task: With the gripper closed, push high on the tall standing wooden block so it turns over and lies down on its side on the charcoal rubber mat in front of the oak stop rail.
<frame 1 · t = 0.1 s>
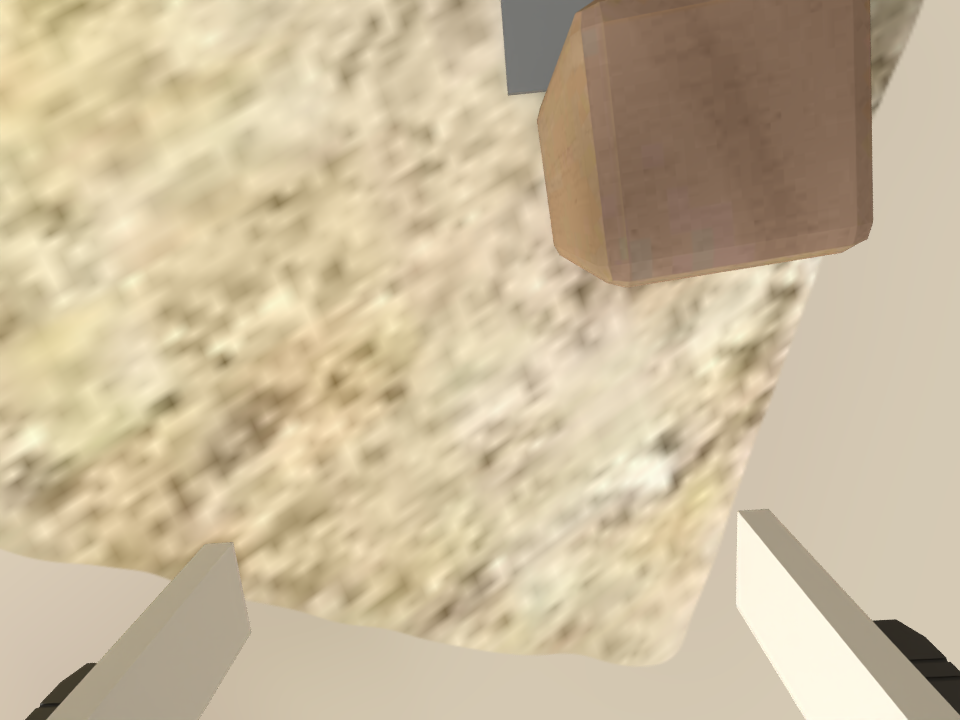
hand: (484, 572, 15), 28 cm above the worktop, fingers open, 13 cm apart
wooden block: (617, 172, 40), on the worktop
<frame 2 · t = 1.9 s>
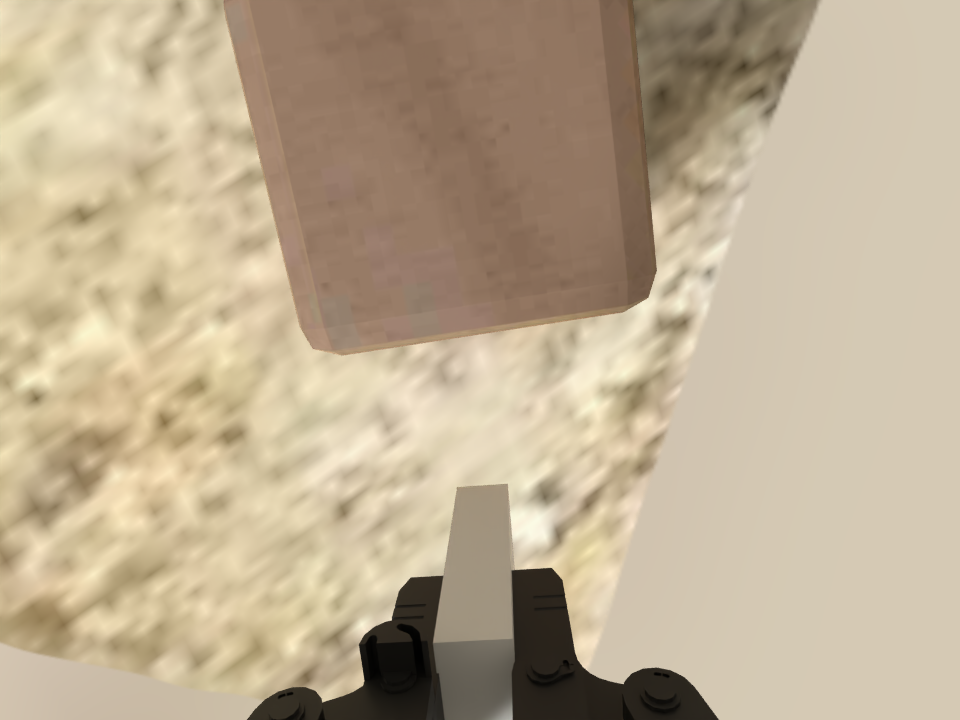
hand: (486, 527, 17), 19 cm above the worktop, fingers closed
wooden block: (476, 183, 34), on the worktop
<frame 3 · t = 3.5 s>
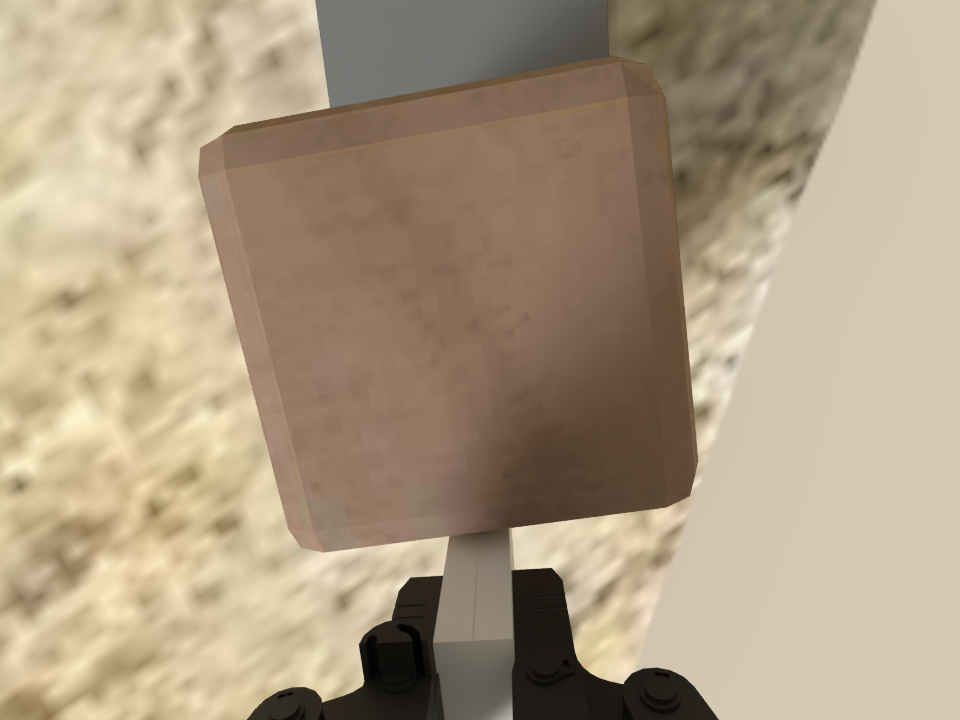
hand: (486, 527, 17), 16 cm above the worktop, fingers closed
wooden block: (483, 268, 32), on the worktop, touching gripper
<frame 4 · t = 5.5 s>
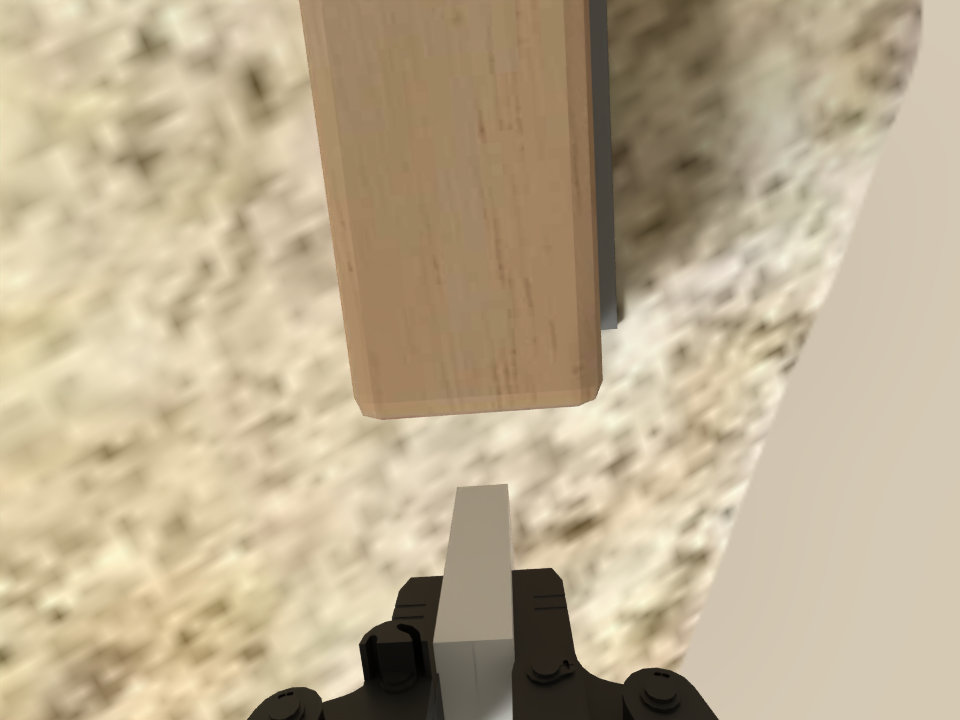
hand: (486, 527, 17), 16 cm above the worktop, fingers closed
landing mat: (472, 138, 30), on the worktop
wooden block: (482, 389, 28), point 6 cm above the worktop, touching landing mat
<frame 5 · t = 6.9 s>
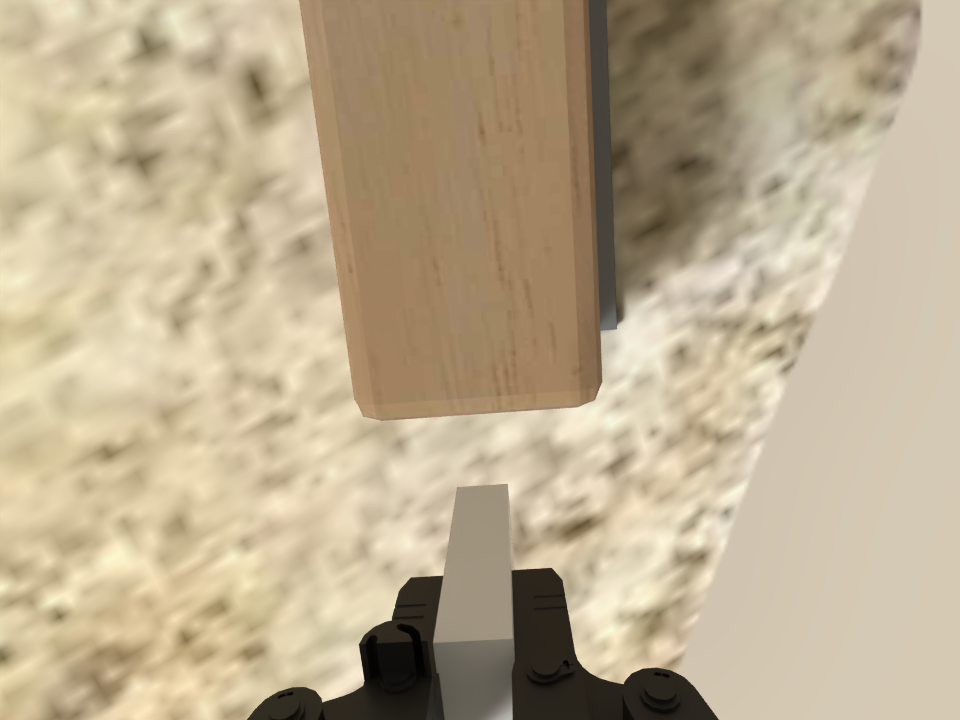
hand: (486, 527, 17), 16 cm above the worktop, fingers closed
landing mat: (472, 139, 30), on the worktop
wooden block: (482, 390, 28), point 6 cm above the worktop, touching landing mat
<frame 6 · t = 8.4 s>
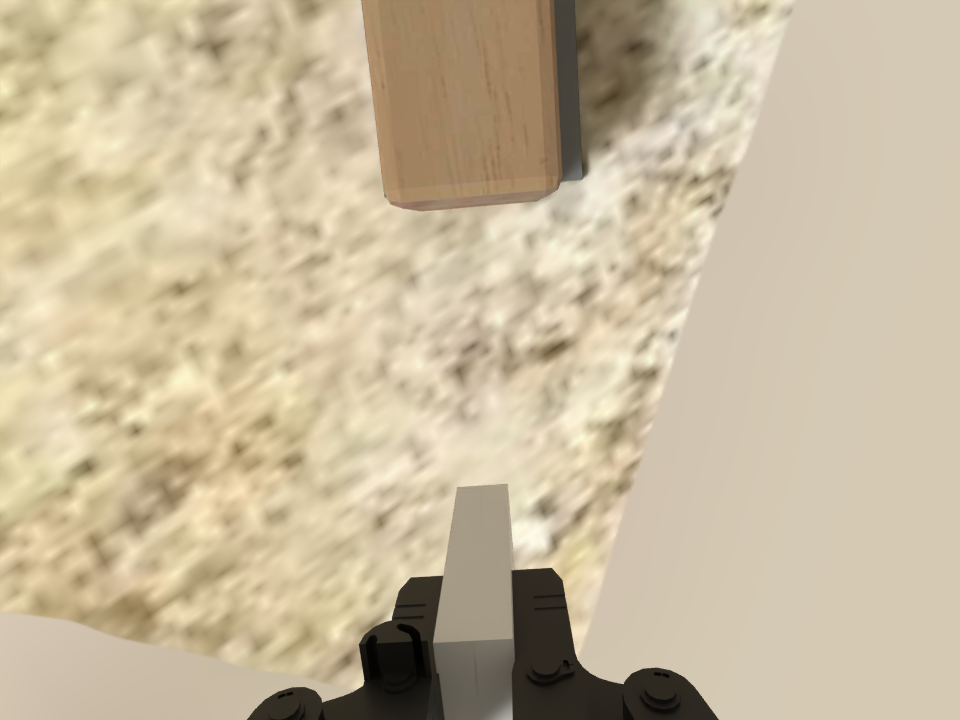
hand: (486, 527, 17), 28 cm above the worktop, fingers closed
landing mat: (469, 27, 40), on the worktop
wooden block: (476, 207, 37), point 6 cm above the worktop, touching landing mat
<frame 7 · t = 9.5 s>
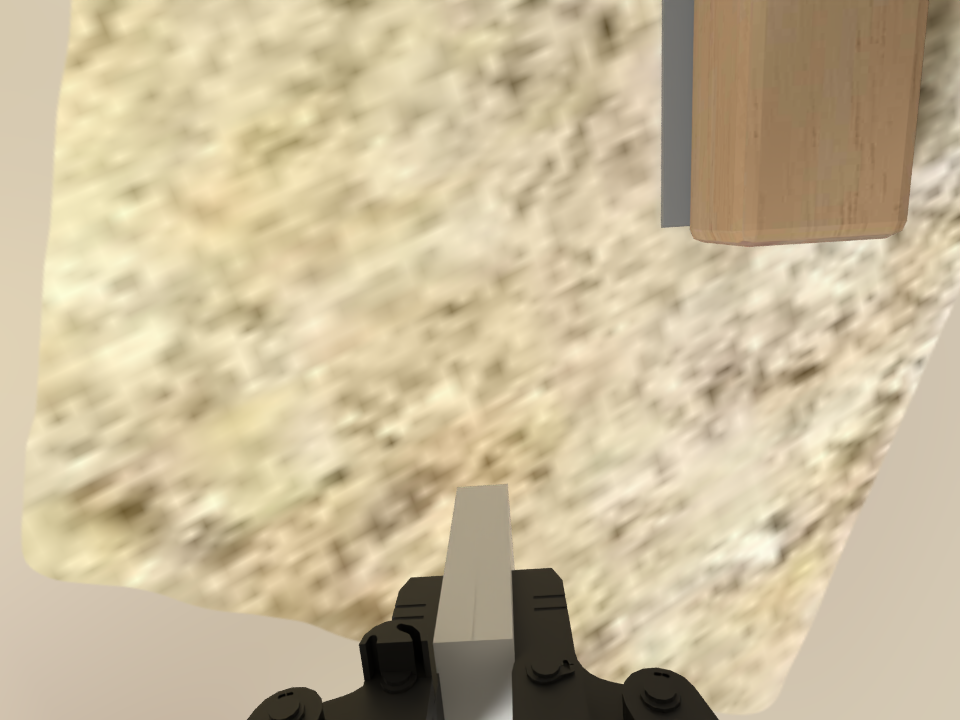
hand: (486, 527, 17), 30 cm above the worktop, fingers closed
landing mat: (760, 70, 42), on the worktop
wooden block: (784, 243, 39), point 6 cm above the worktop, touching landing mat
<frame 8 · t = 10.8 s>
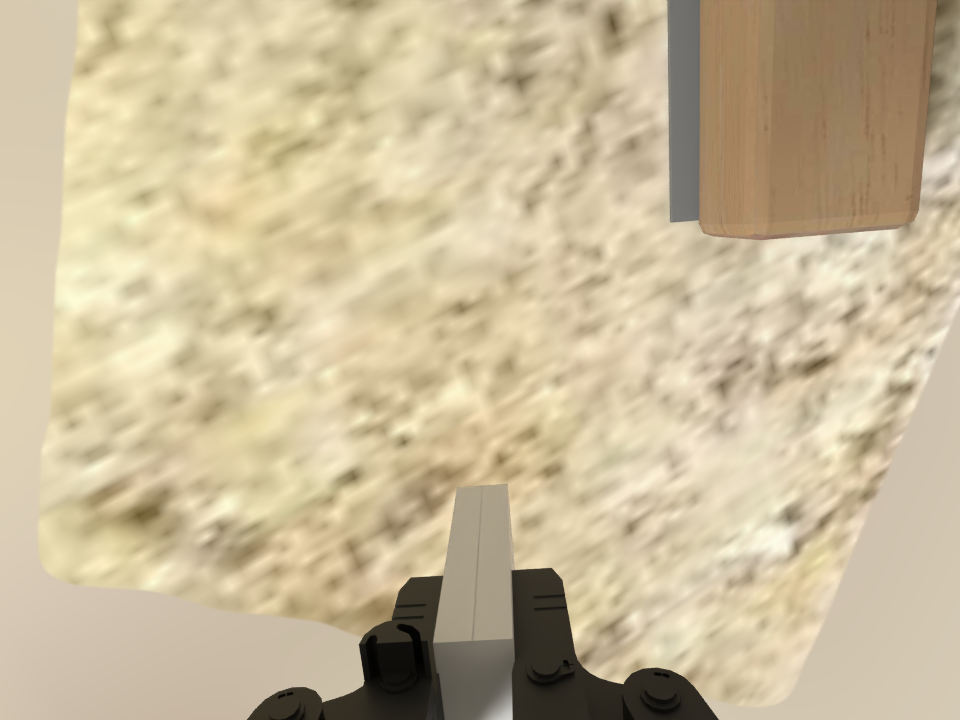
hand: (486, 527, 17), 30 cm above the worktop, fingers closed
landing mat: (767, 62, 42), on the worktop
wooden block: (795, 235, 39), point 6 cm above the worktop, touching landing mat
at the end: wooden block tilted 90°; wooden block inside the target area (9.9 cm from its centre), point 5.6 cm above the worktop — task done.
